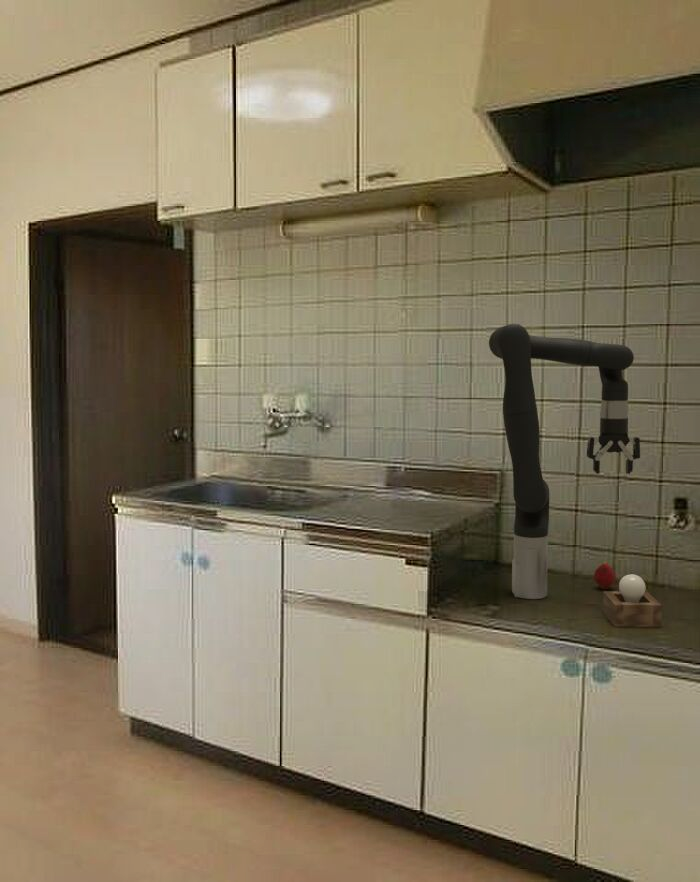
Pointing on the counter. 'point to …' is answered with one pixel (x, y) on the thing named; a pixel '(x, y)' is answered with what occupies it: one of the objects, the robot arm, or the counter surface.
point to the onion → (604, 576)
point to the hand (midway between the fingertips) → (612, 473)
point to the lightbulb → (632, 588)
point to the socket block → (632, 610)
